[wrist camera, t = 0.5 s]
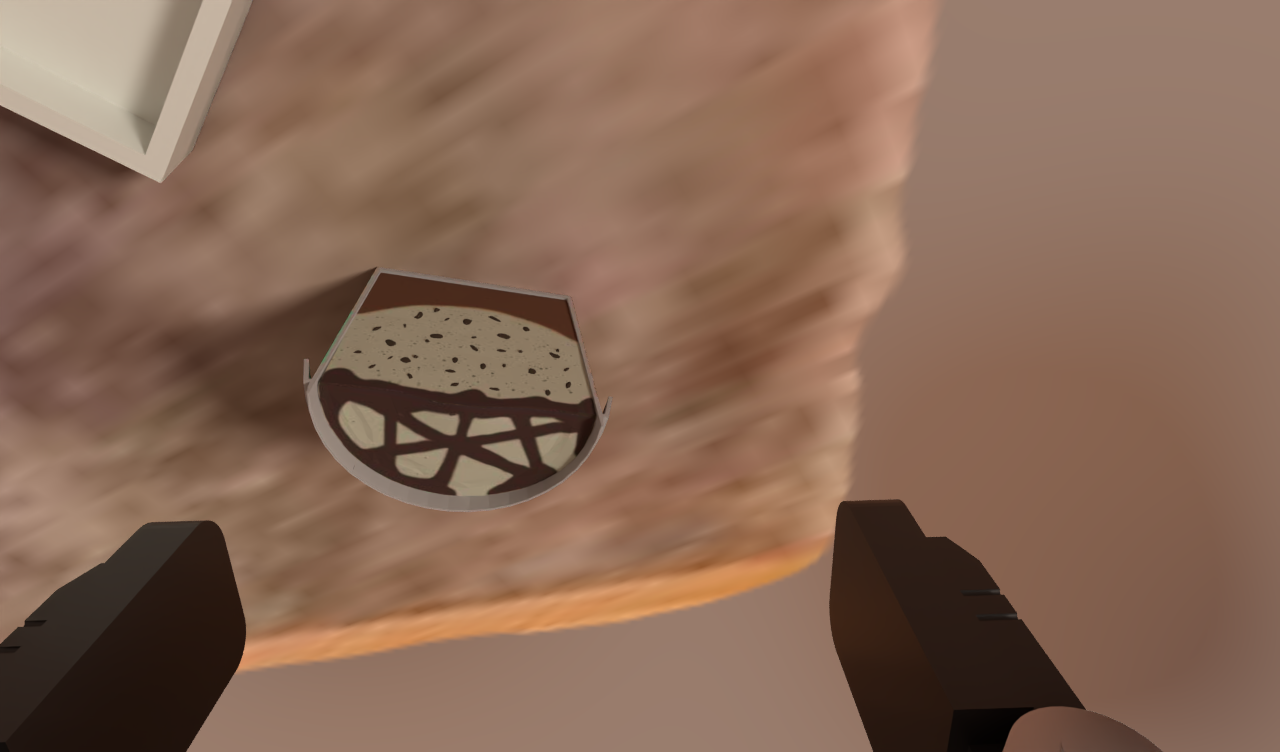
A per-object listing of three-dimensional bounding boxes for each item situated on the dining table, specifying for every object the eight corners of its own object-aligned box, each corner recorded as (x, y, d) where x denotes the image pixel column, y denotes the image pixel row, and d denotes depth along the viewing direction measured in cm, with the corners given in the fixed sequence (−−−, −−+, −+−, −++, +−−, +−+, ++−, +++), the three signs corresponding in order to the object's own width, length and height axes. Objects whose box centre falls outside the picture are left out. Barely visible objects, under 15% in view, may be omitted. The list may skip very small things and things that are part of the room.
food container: (341, 366, 41) (293, 507, 33) (343, 261, 37) (291, 390, 29) (577, 396, 43) (586, 533, 35) (600, 300, 40) (616, 428, 32)
